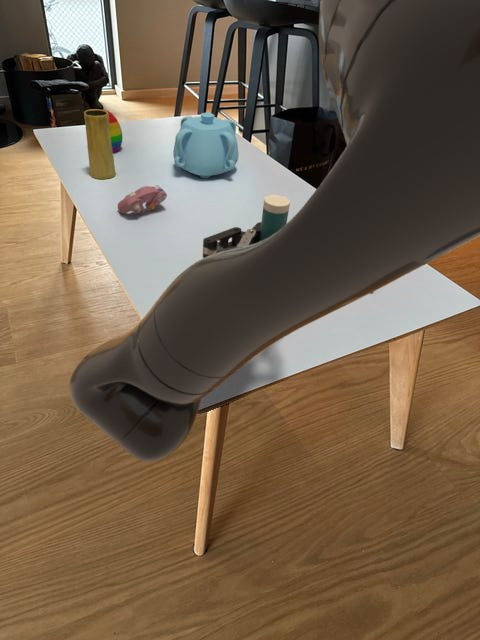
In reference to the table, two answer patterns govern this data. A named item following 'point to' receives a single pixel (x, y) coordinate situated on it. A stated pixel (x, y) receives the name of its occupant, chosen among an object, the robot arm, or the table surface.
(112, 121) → the decorative egg
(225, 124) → the decorative pot
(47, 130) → the table surface
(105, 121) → the vase
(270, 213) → the cylinder
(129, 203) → the video game controller
